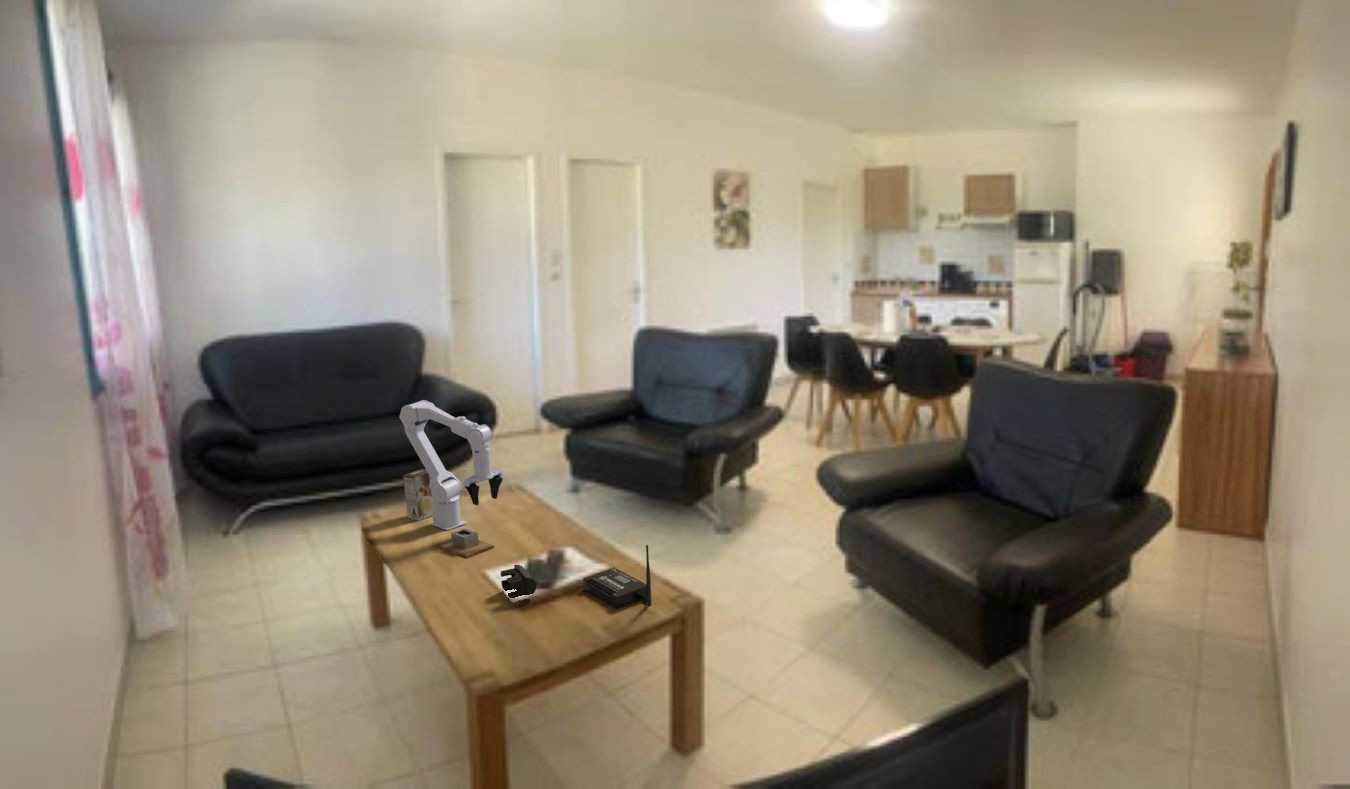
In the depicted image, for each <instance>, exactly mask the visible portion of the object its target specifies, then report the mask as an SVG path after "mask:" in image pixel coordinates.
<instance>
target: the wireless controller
mask: <svg viewBox="0 0 1350 789" xmlns="http://www.w3.org/2000/svg"><path fill="white" fill-rule="evenodd" d="M645 552H646V553H645V555H646V558H645V559H646V564H645V567H646V568H645V569H646V570H645V580H646V581H645V582H646V583H645V582H643V581H641V580H639V579H637V578H635V577H634V576H631V575H629V574H628V573H626V572H624V571H622V570H620V569H618V568H616V567H612V568H608V569H606V570H602V571H600V572H598V573H595V574H592V575H589V576H586V577H583V578H582V579H583V590H584V591H585V592H586V593H587V592H588V594H591V595H592V596H594V597H596V598H598V599H599V600H601V601H602V602H604V603H606V604H607V605H609V606H611V607H613V608H615V609H616V610H620V609H623V608H625V607H627V606H630V605H632V604H635V603H638V602H641V601H642V602H644V603H646V605H647V606H651V605H652V588H651V587H652V583H651V582H652V580H651V579H652V578H651V569H650V560H649V559H650V557H649V544H646V545H645Z"/></svg>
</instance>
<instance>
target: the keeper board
mask: <svg viewBox="0 0 1350 789" xmlns="http://www.w3.org/2000/svg"><path fill="white" fill-rule="evenodd" d="M463 535H464V536H467V534H463ZM478 543H479V545H477V546H474V547H471V548H469V549H466V550H465V549H462V548H459V547H457V546H454V545H452V538H449V539H446V540H444V541H442V542H438V543H437V544H436V547H437V548H441V549H442V550H446V551H448V552H450V553H453V554H456V555H458V556H462V557H464V558H467V559H468V558H471V557H474V556H476V555H478V554H482V553H483V552H487V551H489V550H491V549H494V548H495V546H494V544H490V543H488V542H485V541H482V540H480V539H478Z"/></svg>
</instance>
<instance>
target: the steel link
mask: <svg viewBox="0 0 1350 789" xmlns="http://www.w3.org/2000/svg"><path fill="white" fill-rule="evenodd" d="M463 534H467V536H464V535H463ZM478 535H479V533H478V532H476V531H473V530H471V529H468V528H464V527H463V528H460V529H458V530H455V531H453V532H450V536H451V538H450V539H452V545H454V546H457V547H459V548H462V549H465V550H466V549H469V548H471V547H474V546H477V545H479V543H478V540H479V536H478Z"/></svg>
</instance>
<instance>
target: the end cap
mask: <svg viewBox="0 0 1350 789" xmlns="http://www.w3.org/2000/svg"><path fill="white" fill-rule="evenodd" d="M507 576H510V577H507ZM500 577H501V578H503V577H507V578H506V579H504V580H501V581H500V582H501V588H502V590H503V589H504V590H505V591H507V590H512V589H514V590H515V589H516V590H517V591H515V592H511V593H508V596H509V597H510V598H515V597H518V596H522V595H530V594H533V593H534V594H535V592H536V590H537V582H536V580H535V578H534V577H533V576H531V574H530V573H529V572H528V571H527V570H526V569H525V567H523V566H522V565H520V564H513V568H510V569H505V570H501V571H500ZM534 594H533V595H534Z"/></svg>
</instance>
